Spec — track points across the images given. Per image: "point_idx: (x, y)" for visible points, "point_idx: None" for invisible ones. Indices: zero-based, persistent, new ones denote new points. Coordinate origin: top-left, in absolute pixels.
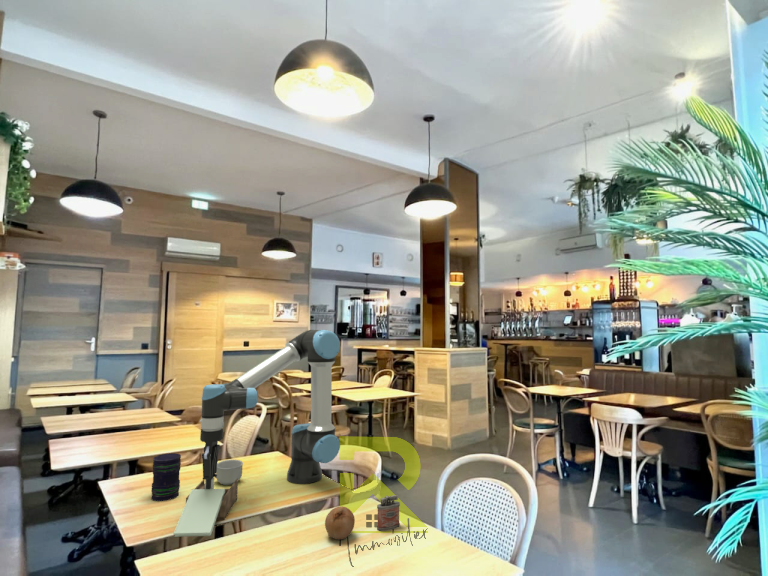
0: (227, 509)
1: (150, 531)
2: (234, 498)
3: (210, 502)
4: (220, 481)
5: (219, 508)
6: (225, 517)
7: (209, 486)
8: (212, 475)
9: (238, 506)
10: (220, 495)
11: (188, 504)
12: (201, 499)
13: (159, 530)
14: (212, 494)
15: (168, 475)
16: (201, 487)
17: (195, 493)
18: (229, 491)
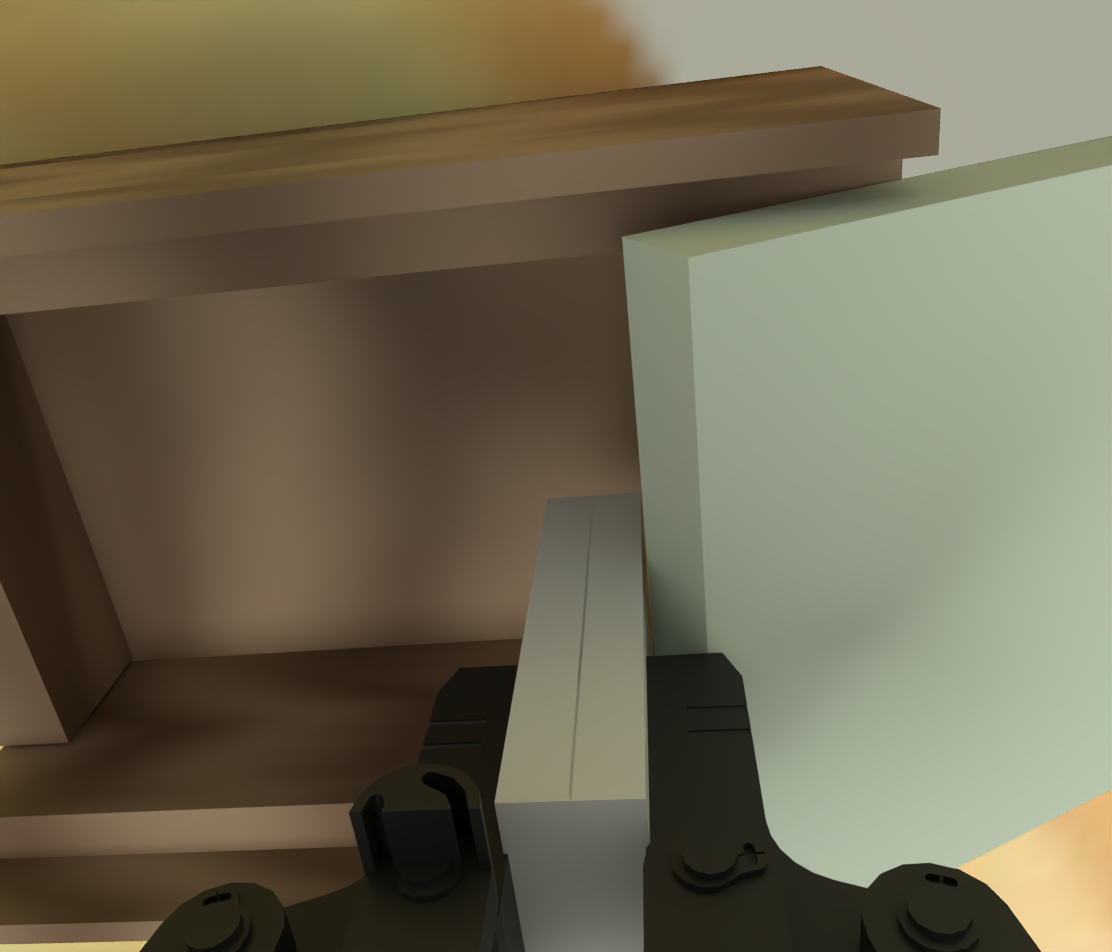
0: (620, 99)
1: (1080, 893)
2: (73, 165)
3: (1059, 414)
4: None
5: (1089, 145)
6: (745, 76)
7: (747, 713)
8: (699, 926)
9: (205, 20)
10: (903, 271)
11: (1038, 787)
12: (962, 647)
13: (1071, 822)
14: (865, 498)
15: None
16: (136, 848)
17: (821, 853)
18: (456, 161)
